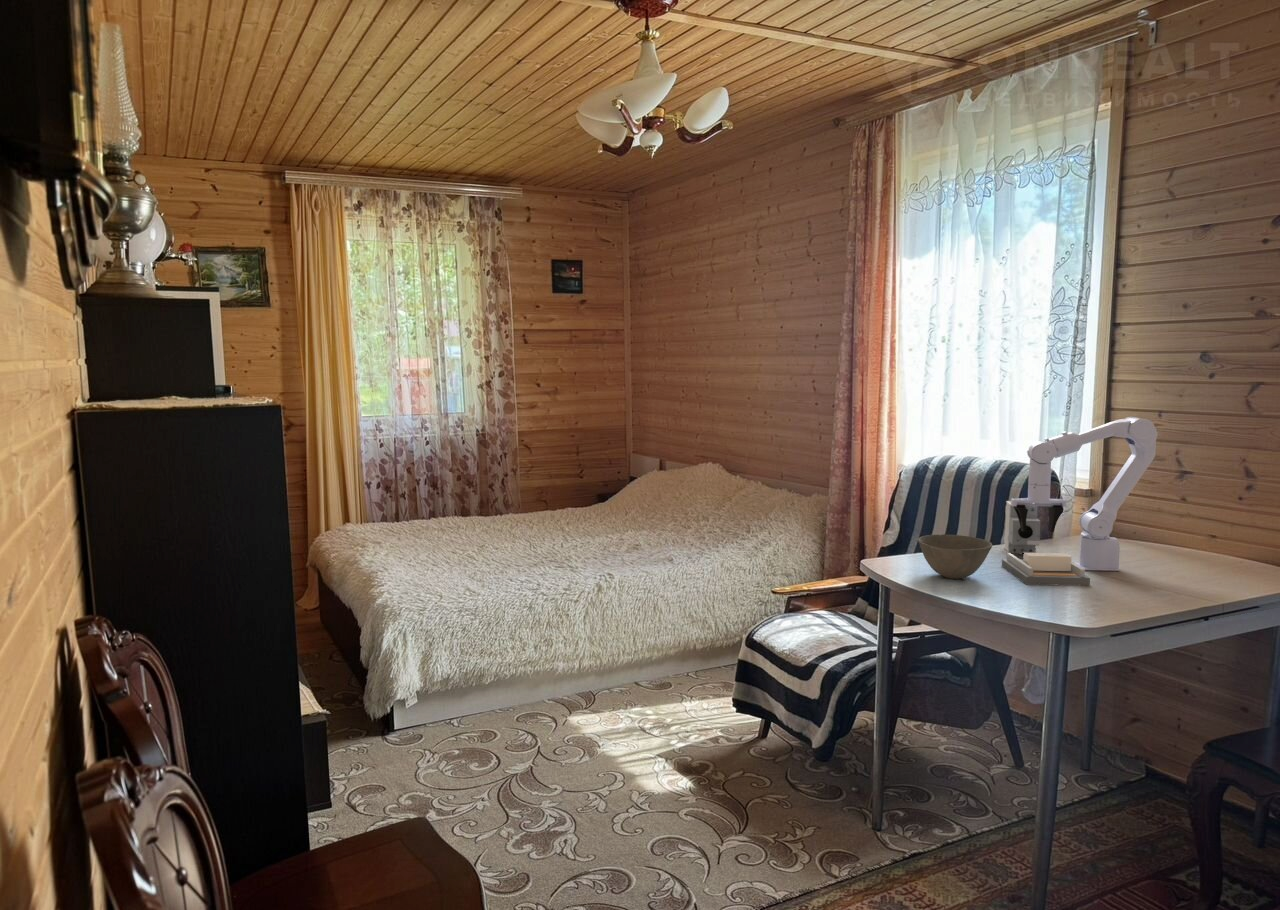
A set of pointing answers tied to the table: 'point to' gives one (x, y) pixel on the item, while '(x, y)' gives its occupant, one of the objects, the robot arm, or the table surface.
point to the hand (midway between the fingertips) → (1037, 531)
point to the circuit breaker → (1015, 537)
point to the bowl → (954, 554)
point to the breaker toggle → (1048, 561)
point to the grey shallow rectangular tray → (1045, 573)
